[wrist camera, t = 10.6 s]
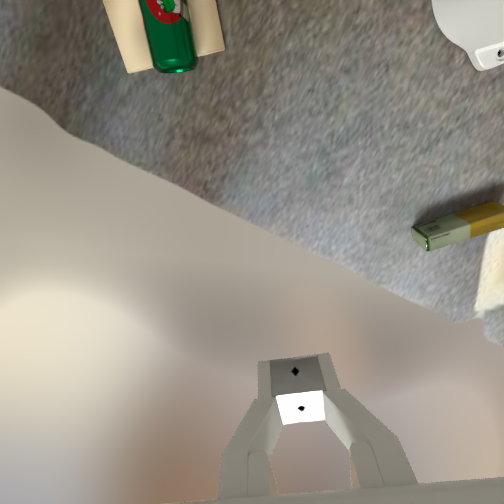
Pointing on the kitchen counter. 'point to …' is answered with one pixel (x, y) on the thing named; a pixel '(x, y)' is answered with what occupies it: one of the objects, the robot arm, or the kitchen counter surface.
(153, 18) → the soda can
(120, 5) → the cork mat
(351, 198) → the kitchen counter surface
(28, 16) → the kitchen counter surface
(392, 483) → the robot arm
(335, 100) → the kitchen counter surface
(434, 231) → the medication box
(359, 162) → the kitchen counter surface
